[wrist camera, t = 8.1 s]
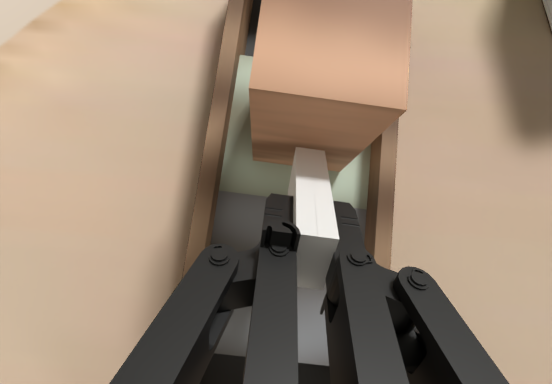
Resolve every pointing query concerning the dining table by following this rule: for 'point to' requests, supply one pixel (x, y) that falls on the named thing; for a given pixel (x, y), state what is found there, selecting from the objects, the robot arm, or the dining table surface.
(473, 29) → the dining table surface
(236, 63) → the box
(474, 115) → the dining table surface
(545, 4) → the light bulb box
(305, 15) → the block
